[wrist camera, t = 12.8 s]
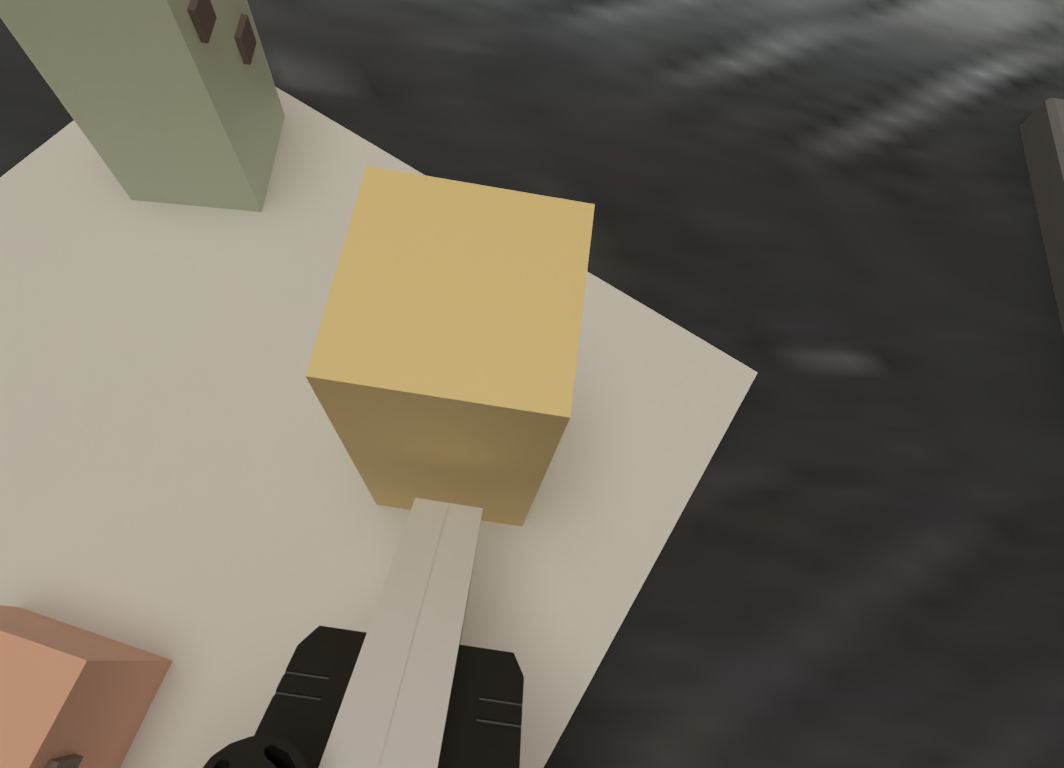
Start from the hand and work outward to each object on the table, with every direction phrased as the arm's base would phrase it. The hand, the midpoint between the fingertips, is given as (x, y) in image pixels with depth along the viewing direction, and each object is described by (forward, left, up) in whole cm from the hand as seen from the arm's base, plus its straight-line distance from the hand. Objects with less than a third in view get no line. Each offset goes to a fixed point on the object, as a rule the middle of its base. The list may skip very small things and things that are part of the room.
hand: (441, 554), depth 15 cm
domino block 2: (+8, +16, -5) cm, 18 cm away
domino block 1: (+4, +2, -5) cm, 7 cm away
